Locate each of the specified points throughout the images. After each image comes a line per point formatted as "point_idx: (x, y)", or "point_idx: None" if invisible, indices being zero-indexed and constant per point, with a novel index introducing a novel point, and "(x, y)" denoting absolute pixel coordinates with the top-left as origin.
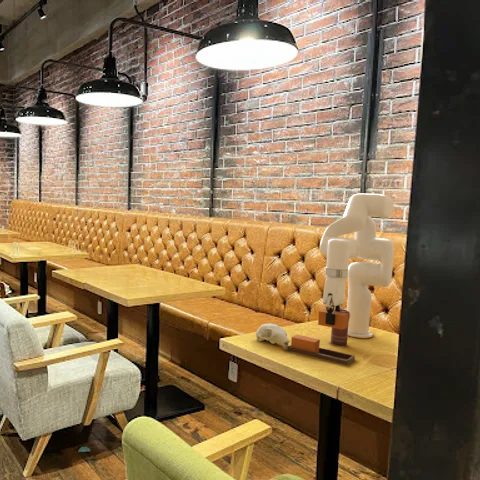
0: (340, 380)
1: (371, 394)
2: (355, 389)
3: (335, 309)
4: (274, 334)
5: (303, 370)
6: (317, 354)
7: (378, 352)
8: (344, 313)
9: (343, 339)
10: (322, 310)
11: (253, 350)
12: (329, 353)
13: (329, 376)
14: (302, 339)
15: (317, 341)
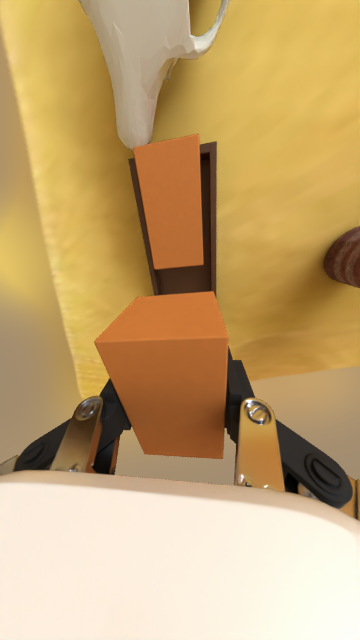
0: (93, 353)
1: (92, 390)
2: (86, 375)
3: (232, 425)
4: (82, 1)
5: (65, 292)
6: (152, 280)
7: (326, 351)
8: (204, 449)
9: (348, 282)
10: (152, 349)
11: (17, 27)
12: (210, 286)
13: (90, 337)
14: (145, 214)
15: (180, 266)
